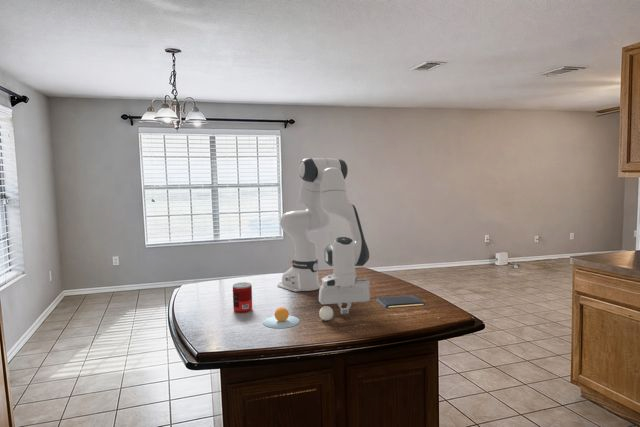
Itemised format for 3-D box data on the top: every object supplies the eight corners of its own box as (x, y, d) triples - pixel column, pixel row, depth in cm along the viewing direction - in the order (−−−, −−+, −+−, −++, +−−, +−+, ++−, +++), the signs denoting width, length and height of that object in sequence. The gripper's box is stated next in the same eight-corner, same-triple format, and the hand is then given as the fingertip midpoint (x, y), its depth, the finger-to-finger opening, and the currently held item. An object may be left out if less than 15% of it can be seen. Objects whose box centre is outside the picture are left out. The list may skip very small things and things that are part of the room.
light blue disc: (255, 323, 162) (255, 323, 161) (279, 313, 173) (279, 313, 173) (283, 331, 153) (283, 330, 153) (306, 319, 165) (306, 319, 165)
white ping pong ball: (332, 303, 163) (337, 313, 166) (320, 302, 166) (325, 312, 169) (326, 313, 159) (331, 324, 162) (314, 312, 162) (319, 322, 165)
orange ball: (279, 302, 163) (292, 308, 164) (275, 308, 167) (287, 313, 168) (275, 315, 159) (288, 320, 160) (271, 320, 163) (283, 325, 164)
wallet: (416, 293, 195) (429, 303, 180) (416, 297, 195) (429, 307, 180) (374, 296, 192) (384, 306, 177) (374, 300, 192) (384, 310, 177)
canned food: (255, 308, 181) (254, 282, 180) (246, 314, 173) (245, 287, 172) (239, 306, 183) (238, 281, 182) (230, 312, 176) (229, 286, 175)
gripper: (367, 275, 171) (367, 309, 172) (317, 278, 167) (318, 312, 169) (372, 279, 164) (372, 314, 166) (320, 282, 161) (320, 317, 162)
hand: (344, 313), depth 167 cm, fingers closed
